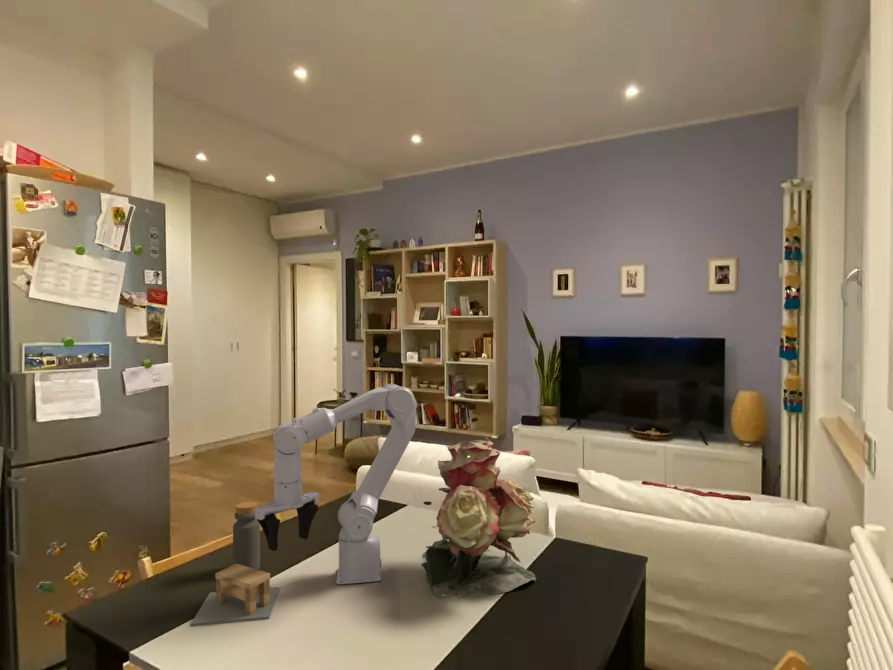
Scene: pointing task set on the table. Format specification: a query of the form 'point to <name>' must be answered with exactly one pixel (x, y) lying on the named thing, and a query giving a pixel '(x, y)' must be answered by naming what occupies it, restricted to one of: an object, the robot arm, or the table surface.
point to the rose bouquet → (477, 525)
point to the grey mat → (232, 610)
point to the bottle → (246, 536)
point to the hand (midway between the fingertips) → (288, 543)
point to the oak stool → (243, 586)
